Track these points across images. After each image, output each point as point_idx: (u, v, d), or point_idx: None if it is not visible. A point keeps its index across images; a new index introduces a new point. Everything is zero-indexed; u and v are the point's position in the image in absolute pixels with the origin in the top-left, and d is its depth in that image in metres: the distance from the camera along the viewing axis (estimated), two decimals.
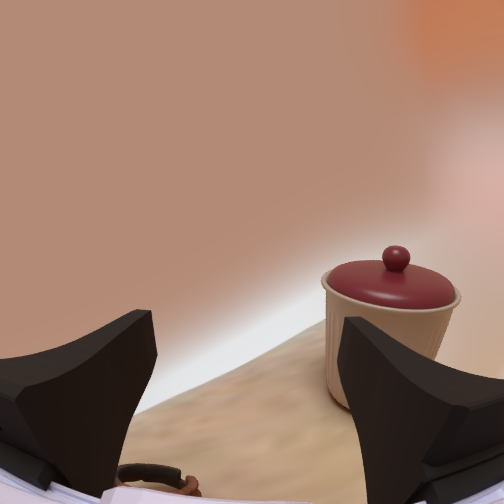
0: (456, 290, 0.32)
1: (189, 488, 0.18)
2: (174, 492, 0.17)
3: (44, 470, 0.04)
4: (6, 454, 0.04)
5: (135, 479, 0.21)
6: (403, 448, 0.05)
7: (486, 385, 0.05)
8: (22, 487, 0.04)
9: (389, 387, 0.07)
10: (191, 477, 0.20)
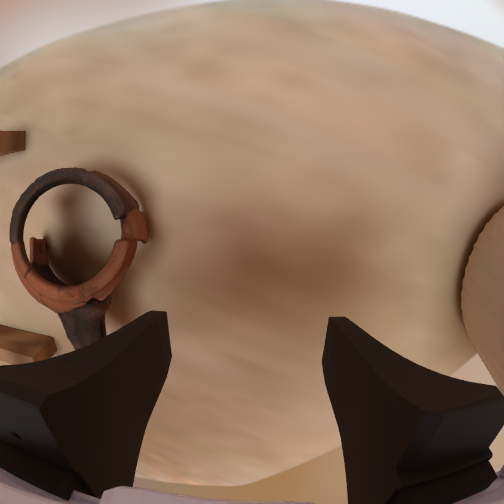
0: None
1: (92, 288, 0.15)
2: (66, 294, 0.14)
3: (66, 479, 0.04)
4: (24, 463, 0.04)
5: None
6: (379, 452, 0.05)
7: (466, 390, 0.05)
8: None
9: (368, 389, 0.07)
10: (119, 250, 0.15)
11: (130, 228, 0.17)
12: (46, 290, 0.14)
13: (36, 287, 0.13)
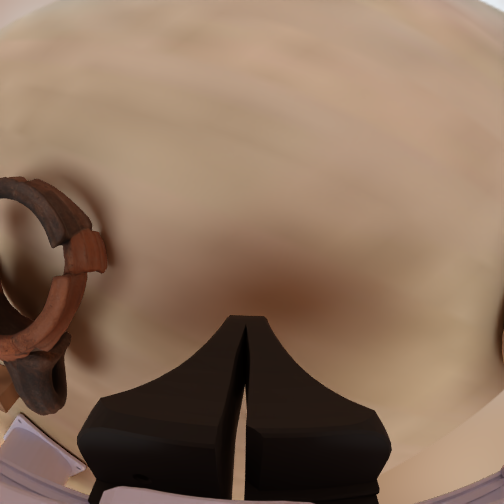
0: None
1: (28, 342, 0.09)
2: None
3: None
4: None
5: None
6: None
7: (330, 411, 0.05)
8: None
9: None
10: (58, 290, 0.10)
11: (76, 257, 0.11)
12: None
13: None
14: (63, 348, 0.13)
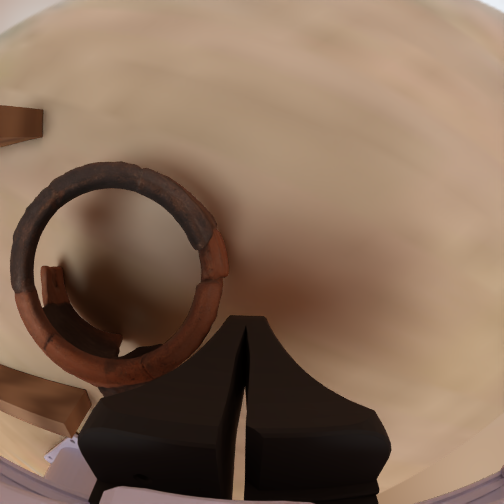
0: None
1: (166, 365, 0.09)
2: (121, 376, 0.09)
3: None
4: None
5: None
6: None
7: (330, 411, 0.05)
8: None
9: None
10: (209, 300, 0.10)
11: (214, 260, 0.11)
12: (85, 370, 0.08)
13: (66, 366, 0.08)
14: None
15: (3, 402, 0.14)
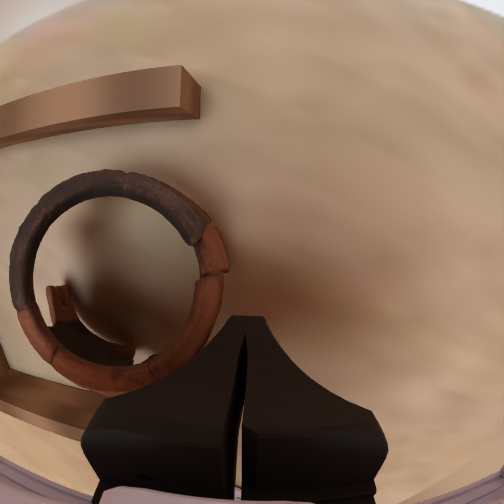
0: None
1: (173, 366, 0.09)
2: (129, 381, 0.08)
3: None
4: None
5: None
6: None
7: (327, 411, 0.05)
8: None
9: None
10: (208, 295, 0.10)
11: (211, 255, 0.11)
12: (93, 380, 0.08)
13: (74, 377, 0.08)
14: None
15: None
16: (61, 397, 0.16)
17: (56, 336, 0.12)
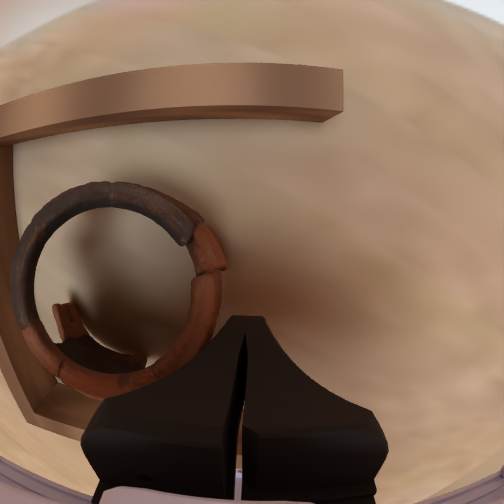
0: None
1: (177, 367, 0.09)
2: (135, 387, 0.09)
3: None
4: None
5: None
6: None
7: (327, 411, 0.05)
8: None
9: None
10: (204, 292, 0.10)
11: (205, 253, 0.11)
12: (100, 389, 0.08)
13: (82, 388, 0.08)
14: None
15: None
16: None
17: (66, 352, 0.12)
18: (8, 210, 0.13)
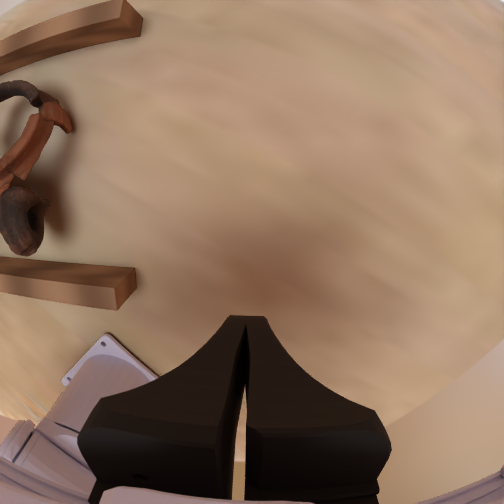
0: None
1: (8, 157, 0.12)
2: None
3: None
4: None
5: (8, 97, 0.14)
6: None
7: (330, 411, 0.05)
8: None
9: None
10: (32, 121, 0.13)
11: (46, 111, 0.15)
12: None
13: None
14: (40, 200, 0.17)
15: (41, 282, 0.17)
16: (19, 264, 0.19)
17: None
18: None
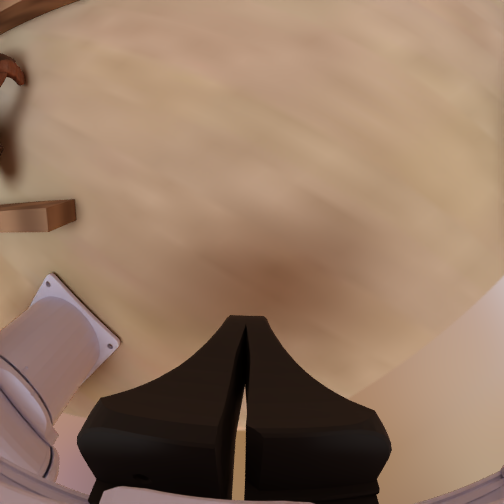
0: None
1: None
2: None
3: None
4: None
5: None
6: None
7: (330, 411, 0.05)
8: None
9: None
10: None
11: (2, 66, 0.13)
12: None
13: None
14: None
15: None
16: None
17: None
18: None
